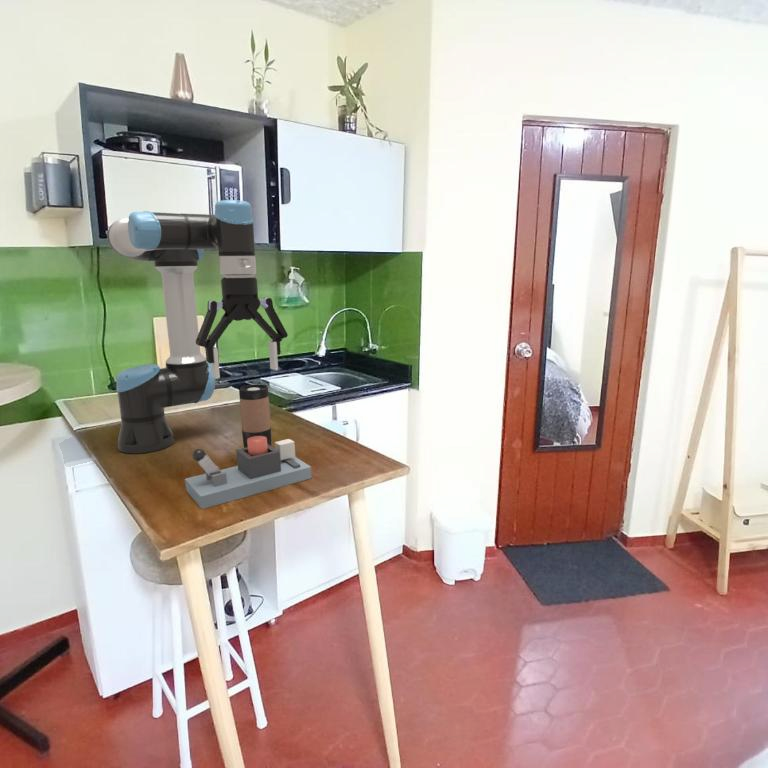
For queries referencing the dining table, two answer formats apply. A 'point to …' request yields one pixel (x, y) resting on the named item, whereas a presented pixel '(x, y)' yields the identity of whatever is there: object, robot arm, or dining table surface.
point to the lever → (205, 462)
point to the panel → (247, 478)
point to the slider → (285, 448)
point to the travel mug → (255, 412)
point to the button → (257, 445)
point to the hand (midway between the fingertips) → (246, 373)
